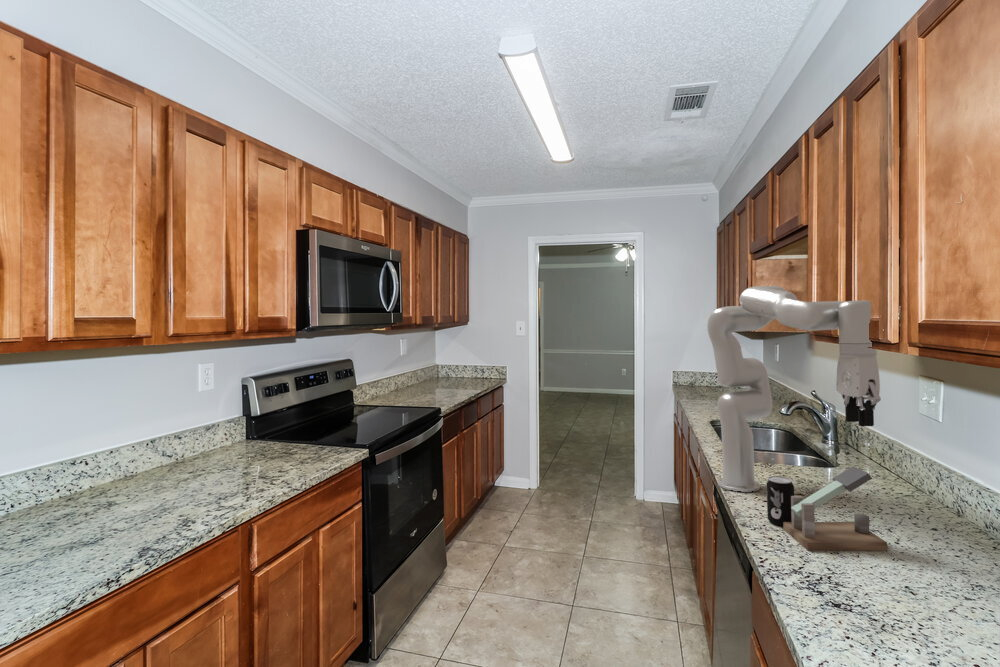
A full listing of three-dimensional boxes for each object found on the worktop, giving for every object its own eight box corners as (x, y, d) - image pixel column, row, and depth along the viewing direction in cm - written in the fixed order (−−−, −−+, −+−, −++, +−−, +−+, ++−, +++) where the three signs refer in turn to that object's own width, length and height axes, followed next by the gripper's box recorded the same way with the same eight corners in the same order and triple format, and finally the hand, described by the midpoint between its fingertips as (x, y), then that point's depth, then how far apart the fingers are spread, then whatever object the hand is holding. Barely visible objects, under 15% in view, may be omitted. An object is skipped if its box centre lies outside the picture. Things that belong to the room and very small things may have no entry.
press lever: (791, 510, 127) (787, 505, 127) (856, 471, 125) (852, 465, 125) (803, 519, 121) (799, 514, 121) (872, 478, 119) (868, 473, 119)
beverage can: (799, 528, 131) (797, 483, 130) (772, 527, 132) (770, 482, 132) (789, 518, 137) (788, 475, 137) (764, 517, 138) (763, 475, 138)
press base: (783, 529, 130) (782, 492, 130) (855, 529, 128) (854, 491, 128) (807, 550, 118) (806, 509, 118) (887, 550, 116) (886, 509, 116)
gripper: (822, 348, 130) (824, 417, 131) (863, 353, 113) (865, 431, 114) (852, 347, 130) (854, 416, 130) (898, 352, 113) (900, 431, 113)
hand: (859, 422), depth 122 cm, fingers open, 4 cm apart
